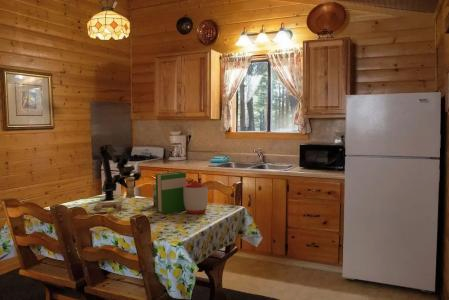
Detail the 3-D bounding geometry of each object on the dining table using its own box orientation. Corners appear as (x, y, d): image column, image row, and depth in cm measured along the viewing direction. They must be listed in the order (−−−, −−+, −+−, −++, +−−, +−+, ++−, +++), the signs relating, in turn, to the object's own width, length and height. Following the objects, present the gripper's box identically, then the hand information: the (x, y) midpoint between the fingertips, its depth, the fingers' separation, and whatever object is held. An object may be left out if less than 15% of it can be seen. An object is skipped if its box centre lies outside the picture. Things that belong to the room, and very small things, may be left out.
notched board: (97, 205, 264) (97, 202, 264) (121, 203, 268) (121, 201, 268) (95, 210, 249) (95, 207, 249) (121, 208, 253) (121, 206, 253)
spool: (125, 196, 259) (124, 177, 258) (135, 196, 261) (134, 176, 259) (125, 198, 253) (124, 178, 252) (135, 197, 254) (134, 178, 253)
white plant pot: (215, 211, 242) (215, 179, 240) (193, 216, 230) (192, 183, 229) (200, 207, 253) (199, 177, 252) (178, 212, 242) (177, 180, 240)
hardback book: (162, 214, 237) (161, 175, 235) (156, 212, 242) (155, 174, 241) (186, 209, 247) (185, 172, 246) (180, 207, 253) (179, 171, 251)
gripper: (113, 162, 252) (121, 181, 244) (139, 160, 264) (147, 178, 256) (108, 173, 259) (116, 192, 251) (134, 170, 270) (142, 188, 263)
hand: (130, 187), depth 255 cm, fingers closed on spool, 5 cm apart
